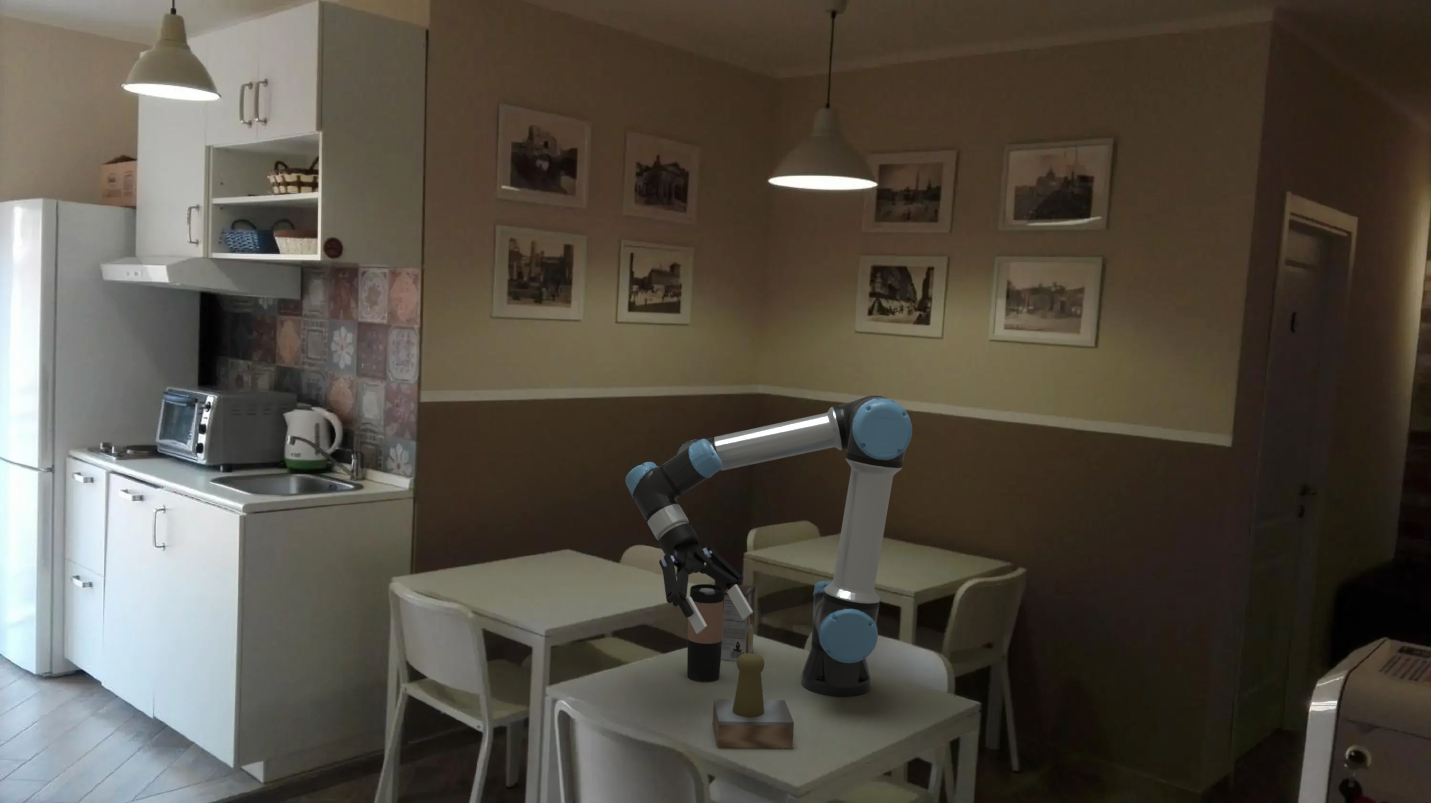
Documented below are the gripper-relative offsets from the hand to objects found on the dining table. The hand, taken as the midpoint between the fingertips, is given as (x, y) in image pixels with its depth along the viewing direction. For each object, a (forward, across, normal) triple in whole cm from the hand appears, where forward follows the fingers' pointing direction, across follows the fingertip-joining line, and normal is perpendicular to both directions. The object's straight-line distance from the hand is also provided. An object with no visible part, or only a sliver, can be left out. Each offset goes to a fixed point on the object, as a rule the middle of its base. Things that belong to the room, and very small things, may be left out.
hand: (725, 622), depth 211 cm
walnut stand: (+20, +1, -8) cm, 22 cm away
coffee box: (-3, -36, -34) cm, 49 cm away
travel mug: (+1, -18, -30) cm, 35 cm away
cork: (+16, +2, -5) cm, 17 cm away
